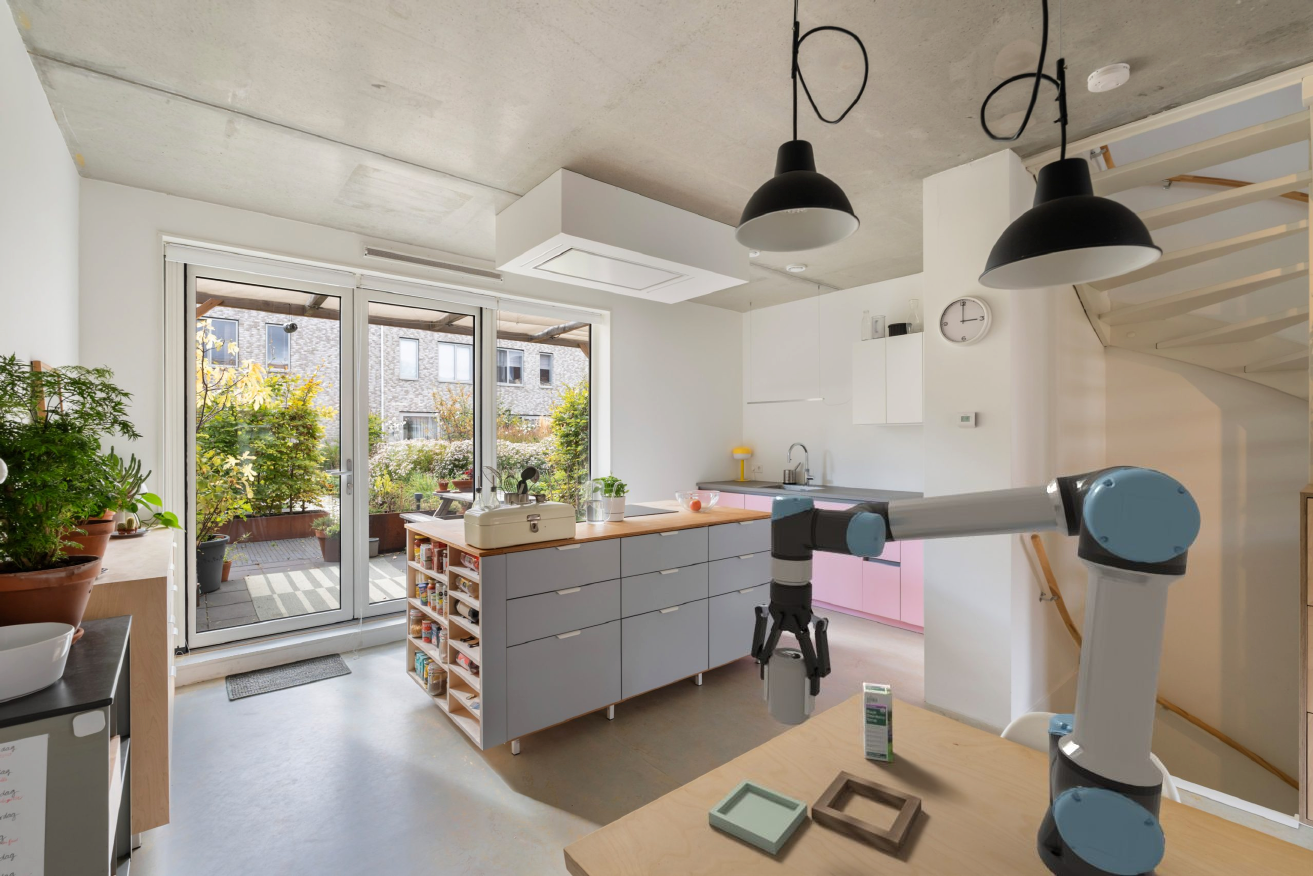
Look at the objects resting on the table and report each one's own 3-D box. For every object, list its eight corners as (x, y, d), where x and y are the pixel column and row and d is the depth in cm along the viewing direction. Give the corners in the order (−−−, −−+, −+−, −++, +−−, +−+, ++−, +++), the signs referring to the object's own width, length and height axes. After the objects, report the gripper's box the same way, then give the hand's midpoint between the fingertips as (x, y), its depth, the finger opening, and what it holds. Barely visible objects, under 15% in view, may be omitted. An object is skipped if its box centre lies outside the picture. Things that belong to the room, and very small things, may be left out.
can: (810, 730, 102) (812, 661, 102) (767, 724, 104) (768, 657, 103) (809, 710, 109) (810, 646, 109) (768, 705, 111) (769, 642, 111)
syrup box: (864, 759, 125) (864, 691, 125) (863, 745, 131) (862, 680, 131) (892, 763, 123) (892, 694, 123) (890, 749, 129) (890, 683, 129)
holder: (921, 809, 108) (921, 798, 108) (897, 855, 96) (897, 842, 96) (841, 780, 117) (841, 770, 117) (811, 818, 105) (811, 807, 105)
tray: (807, 815, 106) (807, 804, 106) (774, 855, 96) (774, 842, 96) (744, 789, 114) (744, 778, 114) (708, 823, 104) (708, 812, 104)
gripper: (853, 586, 103) (851, 715, 103) (752, 567, 116) (750, 682, 116) (836, 594, 97) (834, 731, 97) (732, 574, 110) (730, 695, 110)
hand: (788, 704), depth 106 cm, fingers closed on can, 7 cm apart
